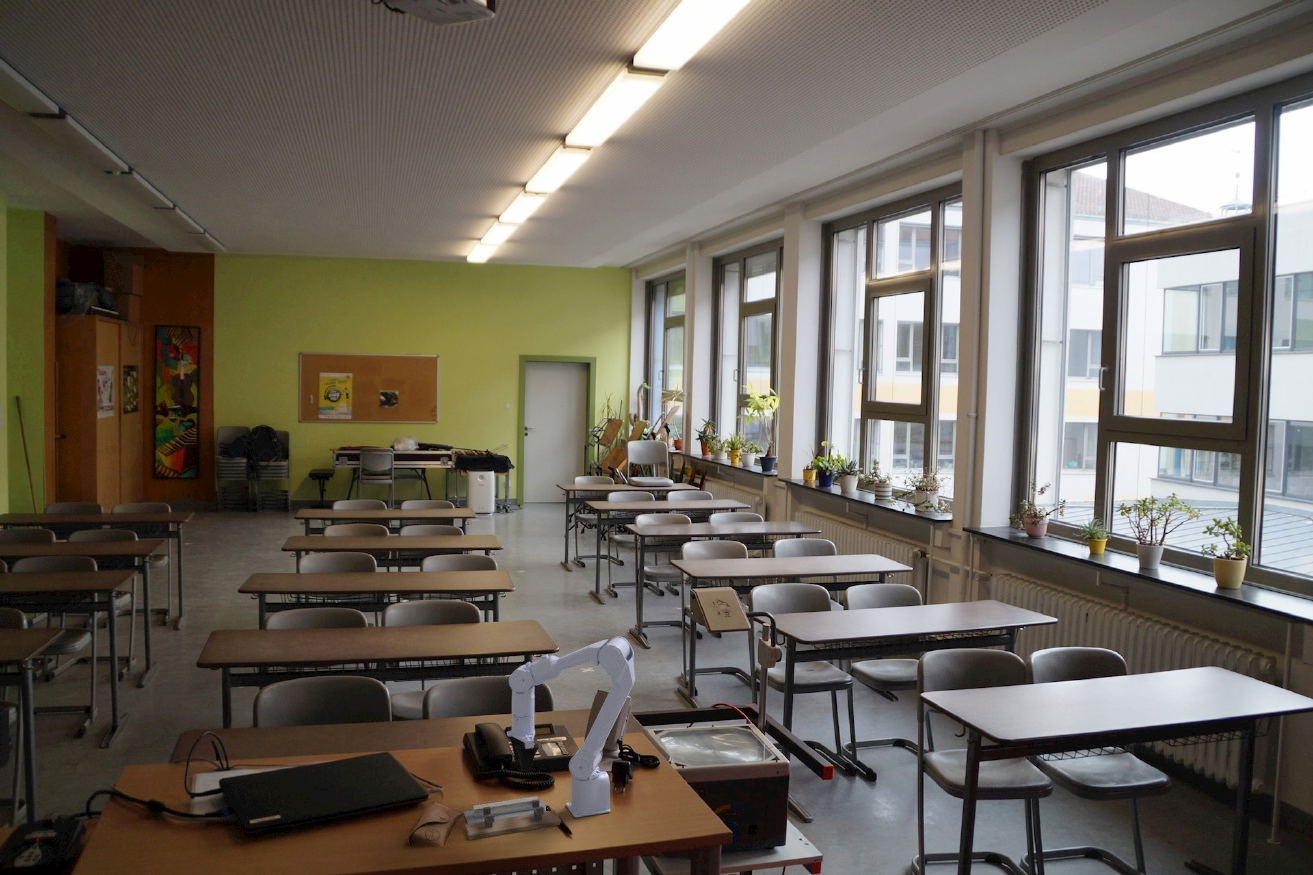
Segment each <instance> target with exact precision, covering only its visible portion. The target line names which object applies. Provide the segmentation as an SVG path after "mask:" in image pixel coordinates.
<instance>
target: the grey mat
mask: <svg viewBox="0 0 1313 875" xmlns="http://www.w3.org/2000/svg"><path fill="white" fill-rule="evenodd" d="M539 801H540V803H539V807H541V806H543V807H544V812H547V811H546V807H547V806H546V804H545V802H544V801H543V799H539ZM462 814H464V818H465V820H466V824H470V823H477V822H483V821H485V817H480V818H474V815H473V809H472V810H466V811H463V812H462ZM528 814H534V809H532V810H525V811H519V812H512V813H506V814H499V815H494V820H496V819H502V818H509V817H515V816H521V815H528ZM486 817H487V816H486Z"/></svg>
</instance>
